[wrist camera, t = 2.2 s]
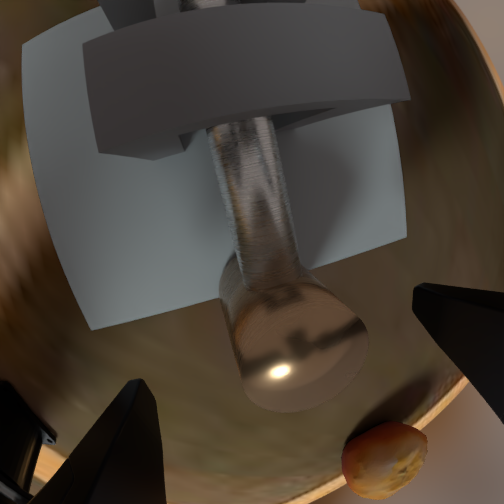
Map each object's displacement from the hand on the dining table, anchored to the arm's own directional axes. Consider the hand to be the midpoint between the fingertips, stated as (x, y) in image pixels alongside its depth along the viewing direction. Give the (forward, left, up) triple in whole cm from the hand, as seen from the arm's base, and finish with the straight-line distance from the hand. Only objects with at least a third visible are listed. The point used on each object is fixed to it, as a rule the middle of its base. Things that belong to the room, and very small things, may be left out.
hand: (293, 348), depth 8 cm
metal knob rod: (+7, 0, -4) cm, 8 cm away
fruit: (-20, -7, -6) cm, 22 cm away
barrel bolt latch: (+7, 0, -6) cm, 9 cm away
